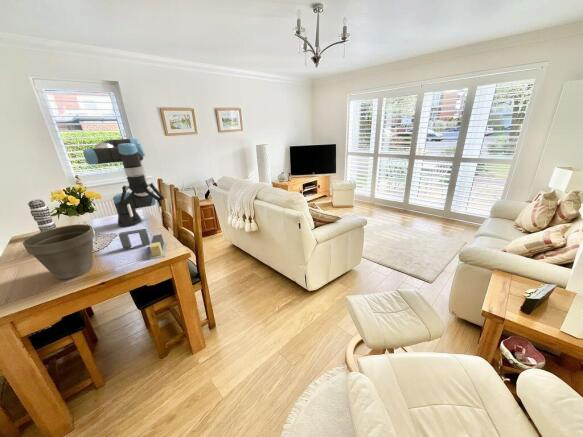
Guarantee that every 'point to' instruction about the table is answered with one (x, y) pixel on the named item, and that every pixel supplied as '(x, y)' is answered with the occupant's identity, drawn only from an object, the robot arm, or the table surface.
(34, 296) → the table surface
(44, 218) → the decorative candle
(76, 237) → the plant pot
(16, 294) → the table surface
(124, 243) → the frame
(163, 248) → the mat
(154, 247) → the two-tone upright block
